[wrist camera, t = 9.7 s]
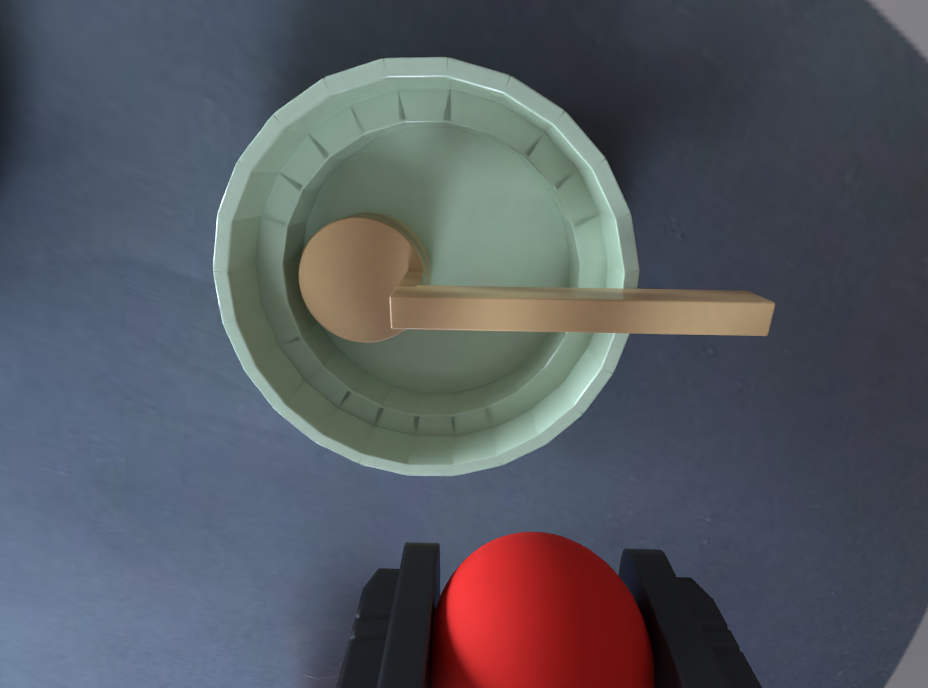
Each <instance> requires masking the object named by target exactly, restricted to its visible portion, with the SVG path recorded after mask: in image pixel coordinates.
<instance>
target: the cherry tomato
mask: <svg viewBox="0 0 928 688" xmlns="http://www.w3.org/2000/svg"><path fill="white" fill-rule="evenodd" d="M431 684H432V688H654V685H655V668H654V658H653V652H652V645H651V641H650V637H649V634H648V631H647V627H646V624H645V621H644V618H643V616H642V614H641V611H640V609H639V607H638V605H637V603H636V601H635V599H634V597H633V596H632V594H631V592H630V591H629V589H628V588H627V586H626V585H625V584H624V582H623V581H622V579H621V578H620V577H619V576H618V575H617V574H616V572H615V571H614V570H613V569H612V568H611V567H610V566H609V565H608V564H607V563H606V562H605V561H604V560H602V559H601V558H600V557H599V556H597V555H596V554H595V553H593V552H592V551H591V550H589V549H588V548H586V547H584V546H582V545H581V544H579V543H577V542H574V541H572V540H570V539H567V538H565V537H562V536H558V535H555V534H549V533H542V532H522V533H515V534H511V535H507V536H503V537H500V538H498V539H495V540H492V541H491V542H489V543H487V544H485V545H483V546H482V547H480V548H479V549H477V550H476V551H475V552H473V553H472V554H471V555H470V556H469V557H468V558H466V559H465V560H464V561H463V562H462V564H461V565H460V566H459V567H458V568H457V570H456V571H455V572H454V573H453V575H452V576H451V578H450V579H449V581H448V582H447V584H446V586H445V588H444V590H443V592H442V594H441V596H440V598H439V601H438V603H437V606H436V609H435V613H434V620H433V632H432V648H431Z"/></svg>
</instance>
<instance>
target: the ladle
mask: <svg viewBox="0 0 928 688" xmlns="http://www.w3.org/2000/svg"><path fill="white" fill-rule="evenodd" d="M298 275H299V286H300V291H301V294H302V297H303V300H304V302H305V304H306V306H307V308H308V309H309V311H310V313H311V314H312V315H313V316H314V318H315V319H316V320H317V321H318V322H319V323H320V324H321V325H322V326H323V327H325V328H326V329H327V330H328V331H330V332H332V333H333V334H335V335H337V336H339V337H341V338H344V339H347V340H350V341H354V342H361V343H374V342H380V341H384V340H387V339H390V338H392V337H395V336H397V335H398V334H400V333H401V332H403V331H404V330H405V329H410V330H466V331H523V332H579V333H635V334H691V335H747V336H767V335H768V332H769V328H770V324H771V320H772V316H773V311H774V307H775V303H774V302H772V301H770V300H767V299H765V298H763V297H761V296H758V295H756V294H754V293H751V292H749V291H746V290H684V289H622V288H561V287H499V286H437V285H430V281H431V268H430V262H429V258H428V255H427V252H426V250H425V248H424V246H423V244H422V242H421V241H420V239H419V238H418V236H417V235H416V234H415V233H414V232H413V231H412V230H411V229H410V228H409V227H408V226H406V225H405V224H404V223H402V222H401V221H399V220H397V219H395V218H393V217H390V216H388V215H384V214H380V213H372V212H366V213H358V214H353V215H350V216H347V217H344V218H342V219H339V220H336V221H333V222H331V223H329V224H327V225H325V226H324V227H323V228H321V229H320V230H319V231H318V232H316V233H315V234H314V235H313V237H312V238H311V239H310V240H309V242H308V243H307V245H306V247H305V249H304V251H303V253H302V256H301V259H300V264H299V273H298Z"/></svg>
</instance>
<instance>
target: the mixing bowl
mask: <svg viewBox="0 0 928 688" xmlns="http://www.w3.org/2000/svg"><path fill="white" fill-rule="evenodd" d="M366 212H372V213H380V214H384V215H388V216H390V217H393V218H395V219H397V220H399V221H401V222H402V223H404V224H405V225H406V226H408V227H409V228H410V229H411V230H412V231H413V232H414V233H415V234H416V235H417V236H418V238H419V239H420V241H421V242H422V244H423V246H424V248H425V250H426V252H427V255H428V258H429V262H430V268H431V281H430V285H437V286H499V287H561V288H622V289H638V281H639V269H640V268H639V261H638V254H637V248H636V241H635V235H634V228H633V222H632V215H631V214H630V209H629V207H628V205H627V203H626V201H625V198H624V196H623V194H622V192H621V190H620V187H619V185H618V183H617V181H616V179H615V176H614V174H613V172H612V170H611V168H610V166H609V163H608V161H607V159H605V156H604V155H603V154H602V153H601V151H600V150H599V149H598V148H597V147H596V146H595V144H594V143H593V142H592V141H591V140H590V139H589V137H588V136H587V135H586V134H585V133H584V132H583V130H582V129H581V128H580V127H579V126H578V125H577V123H576V122H575V121H574V120H573V119H572V118H571V116H570V115H569V114H568V113H567V112H566V111H564V109H562V108H561V107H559V106H558V105H556V104H555V103H553V102H552V101H550V100H549V99H547V98H545V97H544V96H542V95H541V94H539V93H538V92H536V91H535V90H533V89H532V88H530V87H529V86H527V85H525V84H524V83H522V82H521V81H519V80H518V79H516V78H515V77H513V76H511V77H510V75H509V74H506V73H502V72H499V71H495V70H492V69H488V68H485V67H482V66H478V65H475V64H471V63H468V62H465V61H461V60H458V59H454V58H451V57H450V58H448V57H398V58H384V59H383V58H381V59H378V60H375V61H372V62H369V63H366V64H363V65H360V66H357V67H354V68H351V69H347V70H344V71H341V72H338V73H335V74H332V75H329V76H326V77H324V79H321V80H319V81H318V82H316V83H315V84H314V85H312V86H311V87H309V88H308V89H307V90H305V91H304V92H302V93H301V94H300V95H298V96H297V97H295V98H294V99H293V100H291V101H290V102H288V103H287V104H286V105H284V106H283V107H282V108H280V109H279V110H277V111H276V112H275V113H274V114H273V115H272V116H271V117H270V118H269V120H268V121H267V122H266V124H265V125H264V126H263V128H262V129H261V130H260V132H259V133H258V134H257V136H256V137H255V138H254V140H253V141H252V142H251V143H250V145H249V146H248V147H247V149H246V150H245V151H244V153H243V154H242V155H241V157H240V158H239V159H238V161H237V162H236V165H235V168H234V170H233V173H232V176H231V178H230V181H229V184H228V186H227V189H226V192H225V194H224V197H223V200H222V203H221V205H220V208H219V211H218V213H217V215H218V216H217V223H216V236H215V249H214V261H213V270H214V271H213V274H214V280H215V285H216V291H217V296H218V301H219V307H220V312H221V317H222V322H223V323H224V324H223V325H224V328H225V330H226V332H227V334H228V336H229V338H230V341H231V343H232V345H233V347H234V349H235V351H236V354H237V356H238V358H239V360H240V362H241V364H242V367H243V369H244V370H245V371H246V374H247V375H248V376H249V377H250V379H251V380H252V381H253V382H254V384H255V385H256V386H257V387H258V389H259V390H260V391H261V393H262V394H263V395H264V396H265V398H266V399H267V400H268V401H269V403H270V404H271V405H272V406H273V408H274V409H275V410H276V411H277V412H278V413H279V414H280V415H281V416H283V417H284V418H285V419H287V420H288V421H289V422H290V423H292V424H293V425H294V426H295V427H297V428H298V429H299V430H300V431H302V432H303V433H304V434H305V435H307V436H308V437H309V438H310V439H312V440H313V441H314V442H316V443H317V444H319V445H321V446H323V447H325V448H327V449H330V450H332V451H334V452H336V453H338V454H340V455H342V456H344V457H346V458H348V459H350V460H352V461H354V462H356V463H360V464H361V465H365V466H369V467H373V468H378V469H382V470H386V471H390V472H395V473H399V474H403V475H408V476H454V475H461V474H466V473H470V472H475V471H480V470H484V469H489V468H493V467H498V466H501V465H504V464H507V463H509V462H511V461H513V460H515V459H517V458H519V457H521V456H523V455H525V454H528V453H530V452H532V451H534V450H536V449H538V448H540V447H542V446H544V445H546V444H547V443H549V442H550V441H551V440H552V439H553V438H555V437H556V436H557V435H558V434H560V433H561V432H562V431H563V430H565V429H566V428H567V427H568V426H569V425H571V424H572V423H573V422H574V421H576V420H577V419H578V418H579V417H581V416H582V415H583V413H584V412H585V411H586V410H587V408H588V407H589V406H590V404H591V403H592V402H593V400H594V399H595V398H596V396H597V395H598V394H599V392H600V391H601V390H602V388H603V387H604V386H605V384H606V383H607V381H608V380H609V379H610V377H611V376H612V375H613V373H614V371H615V368H616V366H617V363H618V361H619V359H620V356H621V354H622V351H623V349H624V346H625V344H626V341H627V339H628V336H629V334H630V333H579V332H523V331H466V330H410V329H405V330H404V331H403V332H401V333H400V334H398V335H397V336H395V337H392V338H390V339H387V340H384V341H380V342H374V343H361V342H354V341H350V340H347V339H344V338H341V337H339V336H337V335H335V334H333V333H332V332H330V331H328V330H327V329H326V328H325V327H323V326H322V325H321V324H320V323H319V322H318V321H317V320H316V319H315V318H314V316H313V315H312V314H311V313H310V311H309V309H308V308H307V306H306V304H305V302H304V300H303V297H302V294H301V291H300V286H299V275H298V273H299V264H300V259H301V256H302V253H303V251H304V249H305V247H306V245H307V243H308V242H309V240H310V239H311V238H312V237H313V235H314V234H315V233H316V232H318V231H319V230H320V229H321V228H323V227H324V226H325V225H327V224H329V223H331V222H333V221H336V220H339V219H342V218H344V217H347V216H350V215H353V214H358V213H366Z"/></svg>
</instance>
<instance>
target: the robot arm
mask: <svg viewBox="0 0 928 688" xmlns="http://www.w3.org/2000/svg"><path fill="white" fill-rule="evenodd" d="M619 577H620V578H621V579H622V581H623V582H624V584H625V585H626V586H627V588H628V589H629V591H630V592H631V594H632V596H633V597H634V599H635V601H636V603H637V605H638V607H639V609H640V611H641V614H642V616H643V618H644V621H645V624H646V627H647V631H648V634H649V637H650V641H651V645H652V652H653V658H654V668H655V685H654V688H762V687H761V685H760V683H759V682H758V680H757V678H756V676H755V674H754V673H753V671H752V669H751V667H750V665H749V664H748V662H747V660H746V658H745V656H744V654H743V653H742V652H740V650H739V645H738V644H737V642H736V640H735V638H734V636H733V635H732V633H731V631H730V630H728V628H727V624H726V622H725V620H724V618H723V617H722V615H721V613H720V611H719V609H718V607H717V606H716V604H715V602H714V600H713V599H712V598H711V597H710V596H709V595H708V594H707V593H706V592H705V591H704V590H703V589H702V588H701V587H700V586H699V585H698V584H697V583H696V582H695V581H694V580H693V579H692V578H682V577H676V575H675V573H674V571H673V569H672V567H671V565H670V563H669V561H668V559H667V557H666V555H665V554H664V552H663V551H662V550H652V549H624V550H623V553H622V557H621V563H620V569H619ZM439 598H440V545H439V543H408V542H406V543H405V546H404V550H403V555H402V560H401V566H400V569H378V570H377V571H376V573H375V574H374V575H373V577H372V578H371V579H370V580H369V582H368V583H367V584H366V586H365V587H364V588H363V591H362V595H361V598H360V602H359V606H358V609H357V613H356V618H355V620H354V624H353V628H352V631H351V638H350V639H349V642H348V646H347V650H346V653H345V657H344V661H343V664H342V668H341V672H340V675H339V679H338V683H337V686H336V688H432V684H431V648H432V632H433V620H434V613H435V609H436V606H437V603H438V601H439Z"/></svg>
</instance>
